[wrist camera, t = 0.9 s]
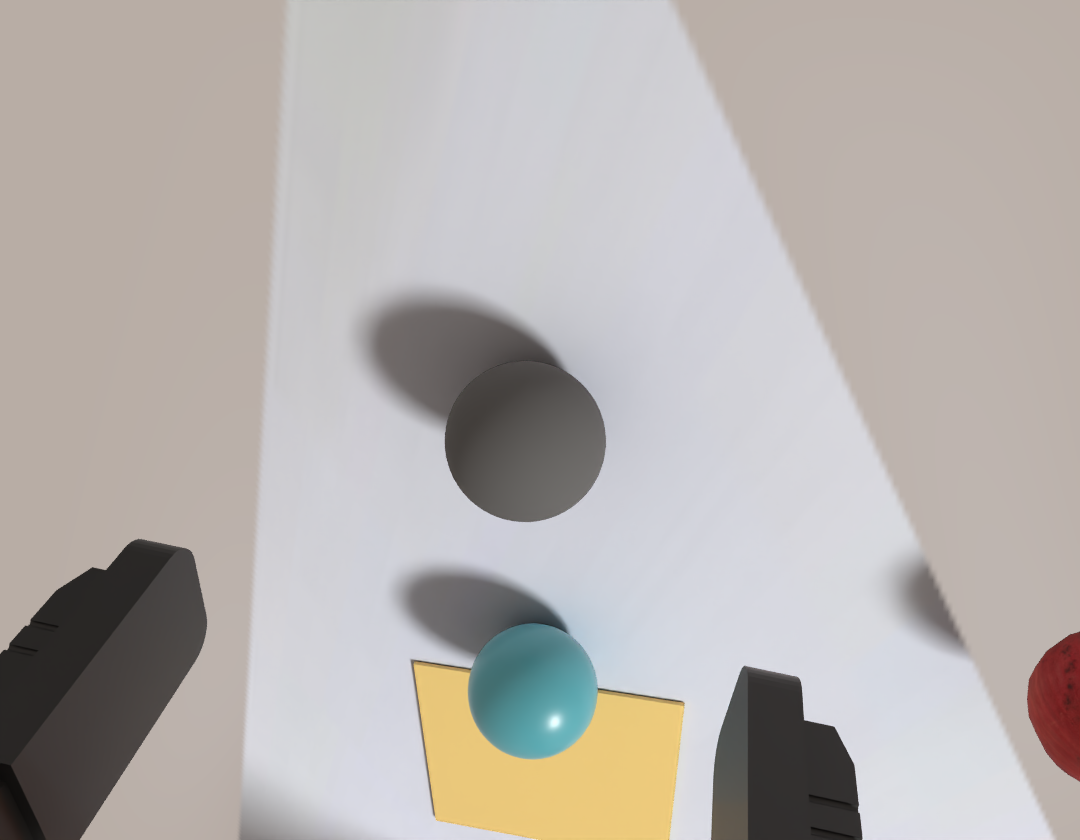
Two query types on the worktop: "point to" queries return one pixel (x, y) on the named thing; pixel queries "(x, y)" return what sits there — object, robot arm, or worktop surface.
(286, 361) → the worktop surface
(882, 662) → the worktop surface
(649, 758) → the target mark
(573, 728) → the object ball
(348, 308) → the worktop surface
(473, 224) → the worktop surface
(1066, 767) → the onion
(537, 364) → the dark gray ball
